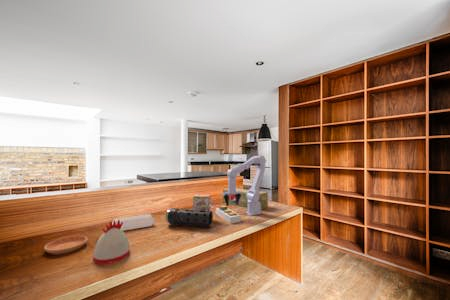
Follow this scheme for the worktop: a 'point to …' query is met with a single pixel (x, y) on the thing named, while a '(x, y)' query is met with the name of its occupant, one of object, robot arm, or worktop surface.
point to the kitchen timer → (111, 245)
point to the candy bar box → (201, 202)
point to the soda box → (243, 201)
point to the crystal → (135, 222)
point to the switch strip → (228, 216)
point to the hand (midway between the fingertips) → (232, 205)
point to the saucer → (65, 245)
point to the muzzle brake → (189, 217)
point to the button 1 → (223, 207)
